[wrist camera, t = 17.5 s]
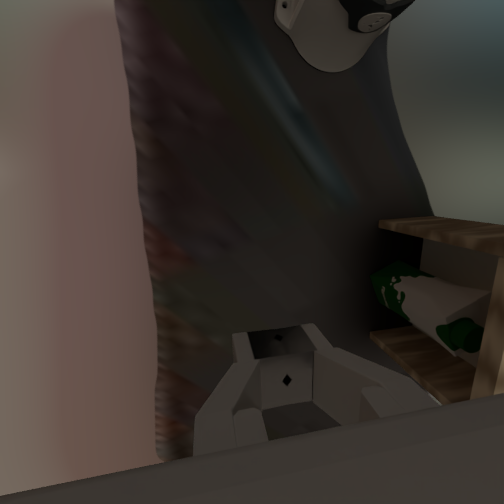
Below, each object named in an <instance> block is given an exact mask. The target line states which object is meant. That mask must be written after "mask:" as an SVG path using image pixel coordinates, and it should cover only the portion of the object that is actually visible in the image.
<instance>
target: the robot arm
mask: <svg viewBox="0 0 504 504" xmlns="http://www.w3.org/2000/svg"><path fill="white" fill-rule="evenodd" d="M414 1H415V0H276V5H275V12H274V20H275V22H276V24H277V25H278V26H279V27H280V28H281V29H282V30H283V31H284V32H285V33H287V34H288V35H289V36H290V38H291V39H292V41H293V43H294V45H295V47H296V48H297V50H298V52H299V53H300V55H301V56H302V57H303V58H304V59H305V60H306V61H307V62H308V63H309V64H310V65H312V66H313V67H315V68H317V69H319V70H322V71H326V72H339V71H343V70H346V69H348V68H350V67H352V66H353V65H354V64H356V63H357V62H358V61H359V60H360V59H361V58H362V57H363V55H364V54H365V52H366V51H367V49H368V48H369V46H370V45H371V44H372V42H373V41H374V40H375V39H376V38H377V37H378V36H379V35H380V34H382V33H383V32H384V31H385V30H386V28H387V27H388V26H389V24H390V21H392V20H393V19H394V18H396V17H397V16H398V15H399V14H401V13H402V12H403V11H404V10H405V9H406V8H407V7H408V6H410V5H411V4H412V3H413V2H414ZM282 5H285V6H286V8H283V7H282ZM232 345H233V360H234V363H233V364H232V366H231V367H230V368H229V370H228V371H227V373H226V374H225V375H224V377H223V378H222V380H221V381H220V382H219V384H218V385H217V387H216V388H215V389H214V391H213V392H212V394H211V395H210V396H209V398H208V399H207V401H206V402H205V403H204V405H203V406H202V408H201V409H200V411H199V412H198V413H197V415H196V416H195V428H194V447H193V457H188V458H183V459H179V460H174V461H169V462H164V463H159V464H154V465H149V466H144V467H139V468H135V469H130V470H125V471H120V472H115V473H111V474H105V475H101V476H96V477H91V478H86V479H81V480H76V481H71V482H66V483H61V484H57V485H51V486H47V487H42V488H37V489H32V490H27V491H22V492H17V493H13V494H7V495H3V496H0V504H504V393H500V394H495V395H491V396H486V397H481V398H476V399H471V400H466V401H461V402H456V403H451V404H447V405H442V406H440V405H439V404H438V403H436V402H435V401H434V400H433V399H432V398H431V397H430V396H429V395H428V394H427V393H426V392H425V391H424V390H423V389H421V388H420V387H419V386H418V385H417V384H416V383H415V382H414V381H413V380H412V379H411V378H409V377H406V376H404V375H402V374H399V373H397V372H395V371H392V370H390V369H387V368H385V367H383V366H380V365H378V364H376V363H373V362H371V361H369V360H366V359H364V358H362V357H359V356H357V355H354V354H352V353H350V352H347V351H345V350H343V349H340V348H338V347H337V348H333V347H332V345H331V344H330V343H329V342H328V340H327V339H326V338H325V337H324V336H323V334H322V333H321V332H320V331H319V329H318V328H317V327H316V326H315V325H314V324H313V323H309V324H303V325H298V326H292V327H285V328H279V329H269V330H261V331H252V332H242V333H236V334H232ZM306 401H313V402H314V403H315V404H316V405H317V406H319V407H320V408H321V409H322V410H324V411H325V412H326V413H327V414H328V415H330V416H331V417H332V418H333V419H335V420H336V421H337V422H338V423H340V424H341V425H342V426H339V427H334V428H330V429H325V430H320V431H315V432H310V433H306V434H301V435H296V436H291V437H286V438H281V439H276V440H271V441H268V437H267V433H266V430H265V426H264V422H263V418H262V414H261V413H262V410H264V409H268V408H273V407H277V406H282V405H287V404H293V403H300V402H306Z"/></svg>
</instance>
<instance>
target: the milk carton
mask: <svg viewBox="0 0 504 504" xmlns="http://www.w3.org/2000/svg"><path fill="white" fill-rule="evenodd" d="M370 279H371V282H372V285H373V287H374V290H375V293H376V296H377V299H378V302H379V303H380V304H382V305H384V306H386V307H387V308H389V309H391V310H393V311H394V312H396V313H397V314H399V315H400V316H402V317H403V318H405V319H406V320H408V321H409V322H411V323H412V324H414V325H415V326H417V327H419V328H420V329H422V330H423V331H425V332H426V333H428V334H429V335H430V336H431V337H433V338H434V339H435V340H436V341H437V342H438V343H440V344H441V345H442V346H443V347H444V348H445V349H447V350H448V351H449V352H450V353H451V354H452V355H453V356H455V357H456V356H458V355H460V354H462V353H464V352H468V353H475V352H478V351H479V350H480V348H481V343H482V338H483V333H484V329H485V324H486V319H487V314H488V309H489V304H490V299H491V295H492V291H486V290H480V289H475V288H469V287H463V286H459V285H457V284H454V283H452V282H449V281H446V280H444V279H441V278H439V277H436V276H433V275H431V274H428V273H426V272H423V271H421V270H419V269H417V268H415V267H412V266H410V265H408V264H406V263H404V262H402V261H400V260H398V261H396V262H394V263H392V264H390V265H388V266H387V267H385V268H383V269H381V270H379V271H377V272H375V273H373V274H372V275H370Z"/></svg>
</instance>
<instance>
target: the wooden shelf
mask: <svg viewBox="0 0 504 504" xmlns="http://www.w3.org/2000/svg"><path fill="white" fill-rule="evenodd" d="M378 228H382V229H387V230H391V231H395V232H399V233H404V234H408V235H412V236H417V237H421V238H423V246H422V254H421V262H420V270H421V271H423V272H426V273H428V274H431V275H433V276H436V277H439V278H441V279H444V280H446V281H449V282H452V283H454V284H457V285H459V286H463V287H469V288H475V289H480V290H486V291H492V295H491V299H490V304H489V309H488V314H487V319H486V324H485V329H484V333H483V338H482V343H481V348H480V350H479V351H478V352H475V353H468V352H464V353H462V354H460V355H458V356H456V357H455V356H453V355H452V354H451V353H450V352H449V351H448V350H447V349H445V348H444V347H443V346H442V345H441V344H440V343H438V342H437V341H436V340H435V339H434V338H433V337H431V336H430V335H429V334H428V333H426V332H425V331H423V330H422V329H420V328H419V327H417V326H415V325H414V324H413V325H412V326H405V327H399V328H392V329H385V330H378V331H372V332H370V339H371V340H372V341H374V342H375V343H376V344H377V345H378V346H379V347H380V348H381V349H382V350H383V351H385V352H386V353H387V354H388V355H389V356H390V357H391V358H392V359H393V360H394V361H395V362H397V363H398V364H399V365H400V366H401V367H402V368H403V369H404V370H405V371H406V372H407V373H409V374H410V375H411V376H412V377H413V378H414V379H415V380H416V381H417V382H418V383H420V384H421V385H422V386H423V387H424V388H425V389H426V390H427V391H428V392H429V393H430V394H432V395H433V396H434V397H435V398H436V399H437V400H438V401H439V402H440V403H441V404H442V405H447V404H451V403H456V402H461V401H466V400H471V399H476V398H481V397H486V396H491V395H495V394H500V393H504V225H498V224H491V223H482V222H475V221H467V220H459V219H451V218H444V217H436V216H428V217H414V218H400V219H386V220H379V227H378Z"/></svg>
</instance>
